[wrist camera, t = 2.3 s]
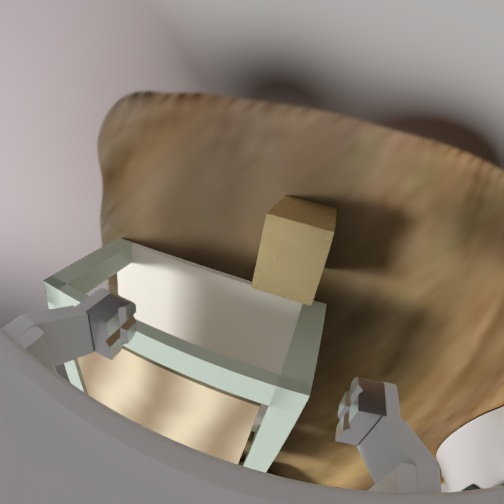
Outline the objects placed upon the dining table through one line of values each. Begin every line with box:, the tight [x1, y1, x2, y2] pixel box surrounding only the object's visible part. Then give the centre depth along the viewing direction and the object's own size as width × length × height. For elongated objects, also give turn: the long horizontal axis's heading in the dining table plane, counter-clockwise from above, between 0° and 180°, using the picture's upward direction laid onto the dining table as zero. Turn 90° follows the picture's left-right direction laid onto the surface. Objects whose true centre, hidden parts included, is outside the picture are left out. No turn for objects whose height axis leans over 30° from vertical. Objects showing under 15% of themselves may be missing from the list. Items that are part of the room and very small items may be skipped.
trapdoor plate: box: [77, 345, 261, 464], centre depth 24 cm, size 16×24×5 cm
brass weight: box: [251, 195, 337, 306], centre depth 21 cm, size 4×5×6 cm
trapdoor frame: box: [43, 238, 327, 473], centre depth 26 cm, size 21×21×10 cm
